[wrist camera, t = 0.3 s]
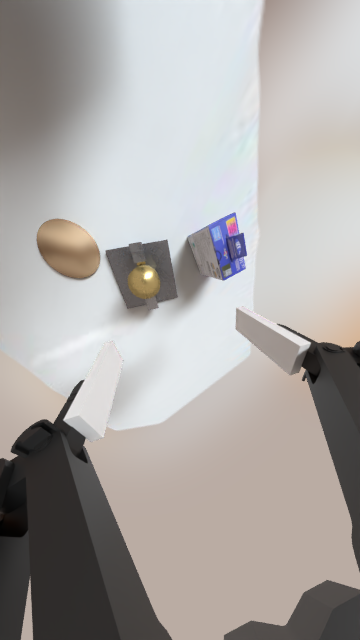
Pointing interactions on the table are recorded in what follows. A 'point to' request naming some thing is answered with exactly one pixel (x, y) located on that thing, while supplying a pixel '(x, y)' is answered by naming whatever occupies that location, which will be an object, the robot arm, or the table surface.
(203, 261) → the ink cartridge box
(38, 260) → the table surface
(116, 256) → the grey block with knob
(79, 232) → the coaster
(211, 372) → the table surface
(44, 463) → the robot arm
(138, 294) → the bell
